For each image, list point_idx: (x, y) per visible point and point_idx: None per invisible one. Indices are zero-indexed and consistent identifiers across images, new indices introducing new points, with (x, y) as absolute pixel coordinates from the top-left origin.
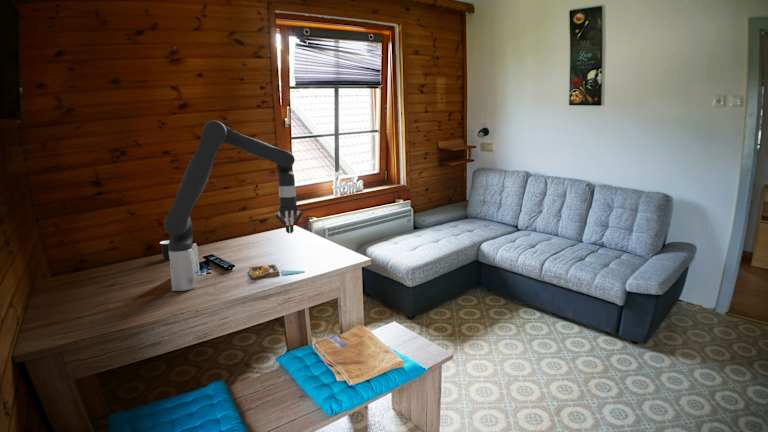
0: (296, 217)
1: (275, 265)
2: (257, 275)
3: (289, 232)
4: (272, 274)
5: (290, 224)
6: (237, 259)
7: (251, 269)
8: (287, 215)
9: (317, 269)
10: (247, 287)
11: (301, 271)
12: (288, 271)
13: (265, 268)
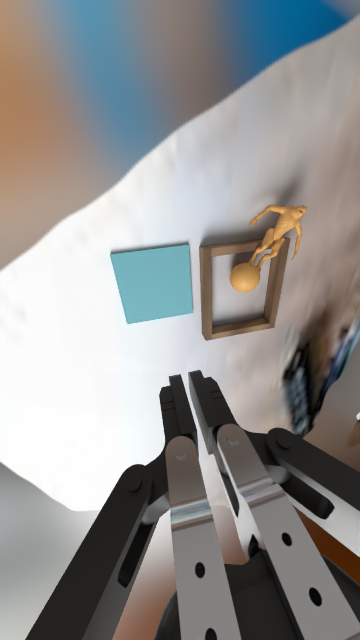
0: (123, 589)
1: (206, 327)
2: (282, 206)
3: (191, 374)
4: (223, 245)
5: (195, 447)
6: (267, 414)
7: (274, 303)
8: (308, 618)
9: (64, 285)
10: (319, 126)
11: (123, 265)
12: (168, 280)
13: (249, 267)
